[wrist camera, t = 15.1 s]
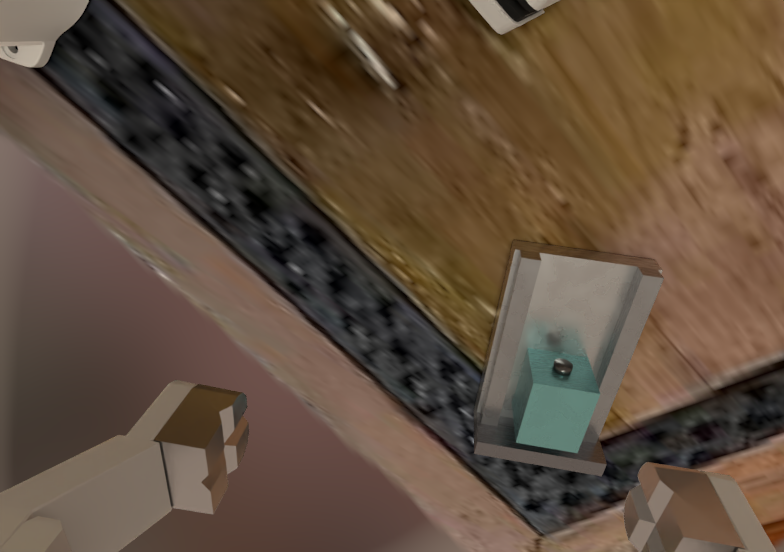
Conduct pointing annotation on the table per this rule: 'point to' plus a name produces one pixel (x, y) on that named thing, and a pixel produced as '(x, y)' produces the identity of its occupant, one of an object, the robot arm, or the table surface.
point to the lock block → (554, 400)
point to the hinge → (510, 12)
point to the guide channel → (562, 339)
